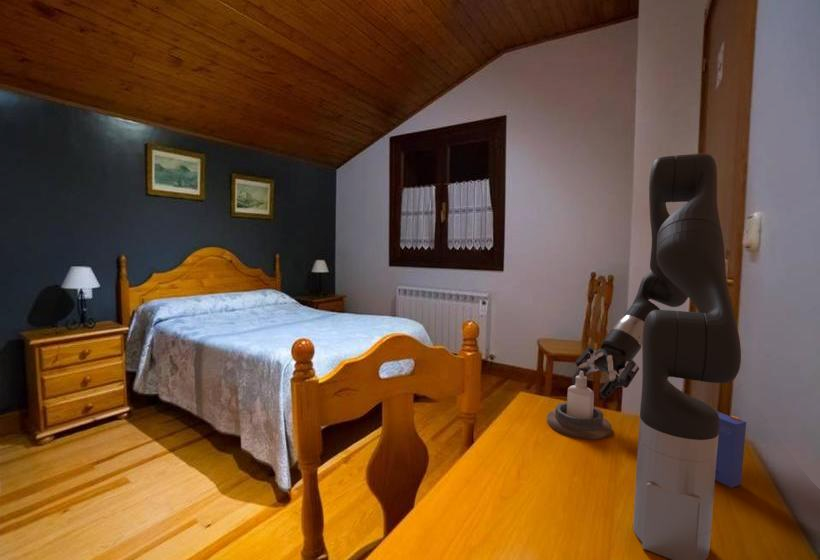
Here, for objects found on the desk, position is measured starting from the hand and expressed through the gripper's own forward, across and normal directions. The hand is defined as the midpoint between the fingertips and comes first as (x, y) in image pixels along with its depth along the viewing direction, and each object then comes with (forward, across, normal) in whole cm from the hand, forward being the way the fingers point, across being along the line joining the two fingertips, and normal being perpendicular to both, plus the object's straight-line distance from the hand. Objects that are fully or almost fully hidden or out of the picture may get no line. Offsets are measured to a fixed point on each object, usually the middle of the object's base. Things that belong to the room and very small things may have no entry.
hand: (587, 389), depth 94 cm
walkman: (+2, +25, +10) cm, 27 cm away
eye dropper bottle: (+7, 0, +4) cm, 8 cm away
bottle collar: (+8, 0, +4) cm, 9 cm away
